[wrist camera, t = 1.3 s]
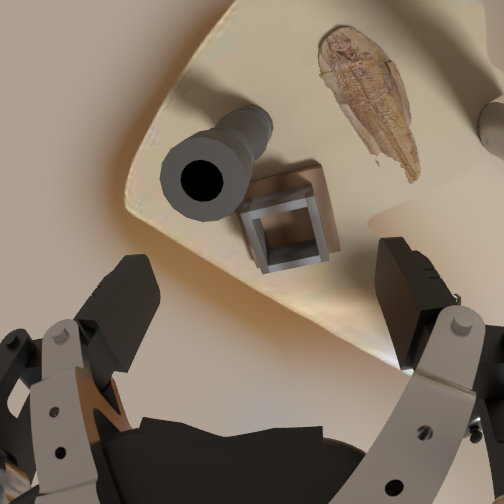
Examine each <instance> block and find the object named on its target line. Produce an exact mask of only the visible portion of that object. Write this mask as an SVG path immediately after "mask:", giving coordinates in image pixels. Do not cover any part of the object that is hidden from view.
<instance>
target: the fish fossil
mask: <svg viewBox="0 0 504 504" xmlns="http://www.w3.org/2000/svg"><path fill="white" fill-rule="evenodd" d="M318 52H319V53H318V60H319V63H318V64H319V67H320V72H321V74H319V75H320V77H321V78H322V79H323V80H324V82H325V85H326V86H327V87H328V88H330V89H331V90H332V91H333V93H334V95H335V98H336V101H337V103H338V104H339V106H340V107H339V108H340V109H341V111H342V112H343V113H344V115H345V117H347V118H348V119H349V122H350V123H351V125H352V126H353V127H354V129H355V131H356V132H357V133H358V136H359V137H360V138H361V139H362V141H363V143H364V144H365V146H366V147H367V149H368V150H369V152H370V154H371V155H376V156H378V154H379V153H380V152H383V153H384V154H385V155H386V156H387V157H392V158H393V159H394V160H395V161H399V162H401V164H400V166H401V168H404V170H405V173H406V177H407V178H408V181H409V183H411V184H412V183H413V182H414V181H417V179H418V177H419V175H420V172H421V170H420V169H421V167H420V163H419V158H418V152H417V147H416V144H415V141H414V138H413V136H412V133H411V131H410V129H409V125H410V122H411V114H410V107H409V101H408V98H407V95H406V91H405V88H404V85H403V82H402V80H401V78H400V74H399V72H398V70H397V68H396V65H395V63H394V62H393V61H391V60H390V59H389V58H388V56H387V55H386V54H385V53H384V51H383V49H382V48H381V47H380V46H378V45H377V44H376V43H375V42H373V41H372V40H371V39H369V38H368V37H366V36H365V35H364V34H362V33H361V32H360V31H357V30H356V29H355V28H352V27H340V28H338V29H337V30H334V31H333V32H332V33H331V34H330V35H329V36H328V37H326V38H325V39H324V40H323V41H322V44H321V46H320V49H319V51H318ZM375 160H376V159H375ZM376 163H377V164H378V166H379V162H378V161H377V160H376ZM379 167H380V166H379Z"/></svg>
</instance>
